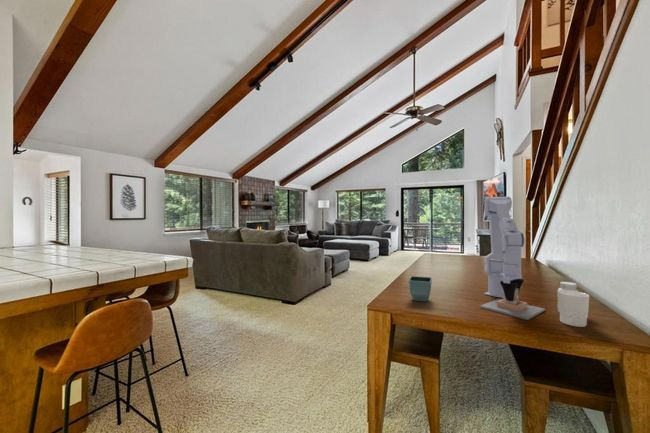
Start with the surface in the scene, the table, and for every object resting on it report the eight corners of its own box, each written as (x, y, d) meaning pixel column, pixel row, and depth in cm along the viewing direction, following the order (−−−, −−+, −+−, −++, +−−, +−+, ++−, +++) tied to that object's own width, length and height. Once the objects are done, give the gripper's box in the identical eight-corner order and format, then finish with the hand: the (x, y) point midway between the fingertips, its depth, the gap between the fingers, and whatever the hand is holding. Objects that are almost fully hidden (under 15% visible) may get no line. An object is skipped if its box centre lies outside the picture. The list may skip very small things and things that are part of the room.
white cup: (551, 319, 100) (552, 290, 100) (572, 318, 101) (573, 289, 101) (573, 328, 92) (573, 297, 92) (595, 327, 93) (596, 296, 93)
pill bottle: (583, 316, 103) (583, 285, 103) (563, 315, 104) (563, 284, 104) (572, 310, 109) (572, 281, 109) (553, 309, 110) (554, 280, 110)
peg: (506, 304, 114) (506, 286, 114) (518, 306, 111) (518, 288, 111) (503, 306, 111) (503, 288, 111) (515, 309, 108) (515, 290, 108)
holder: (498, 300, 122) (499, 293, 122) (544, 310, 109) (544, 303, 109) (480, 307, 112) (480, 300, 112) (527, 319, 99) (527, 311, 99)
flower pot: (408, 301, 120) (408, 280, 120) (410, 296, 128) (410, 275, 128) (431, 304, 117) (431, 282, 117) (431, 298, 125) (431, 277, 125)
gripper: (506, 260, 118) (505, 293, 118) (494, 264, 108) (494, 300, 109) (526, 262, 113) (526, 296, 113) (516, 267, 103) (515, 304, 103)
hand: (512, 299), depth 111 cm, fingers open, 6 cm apart
